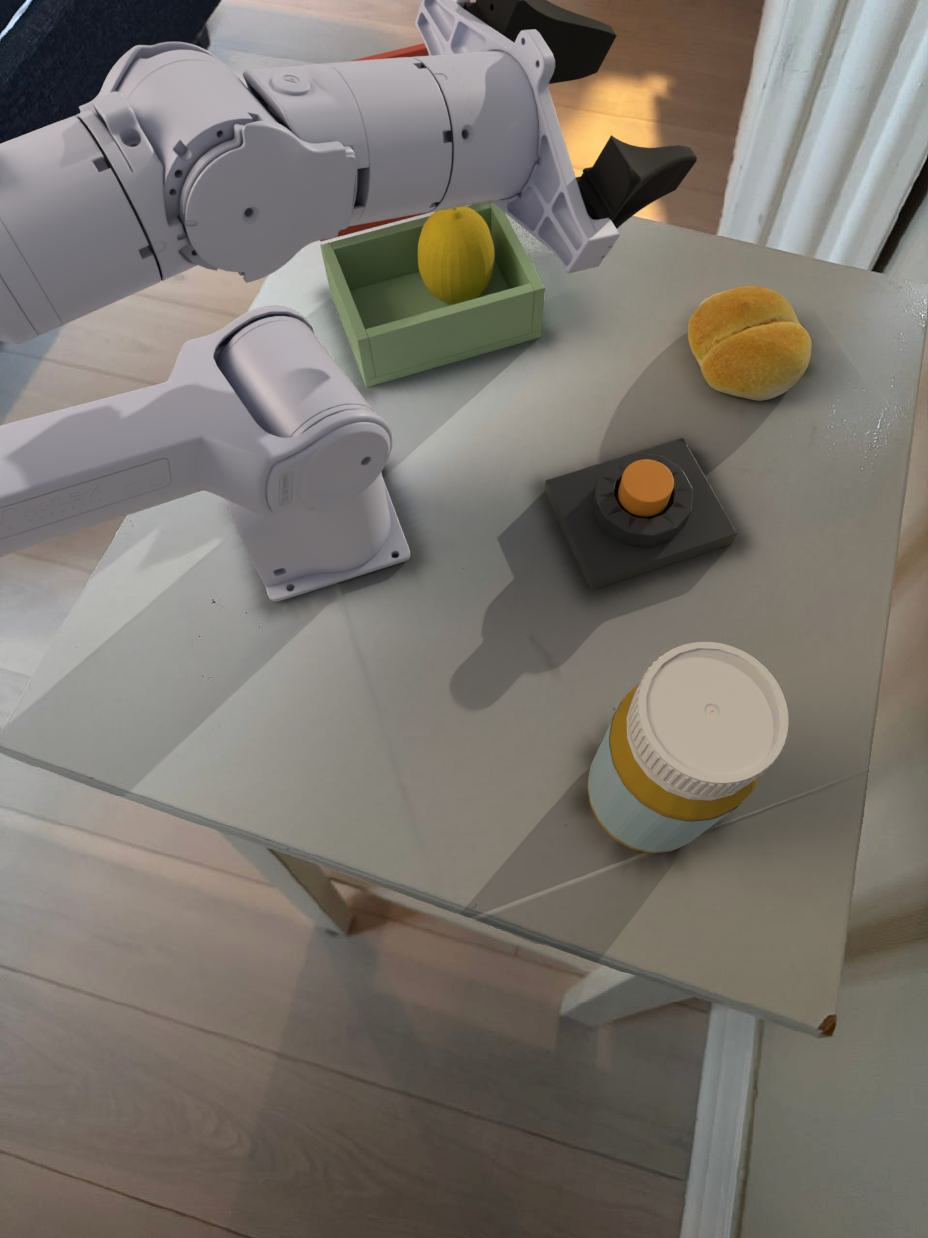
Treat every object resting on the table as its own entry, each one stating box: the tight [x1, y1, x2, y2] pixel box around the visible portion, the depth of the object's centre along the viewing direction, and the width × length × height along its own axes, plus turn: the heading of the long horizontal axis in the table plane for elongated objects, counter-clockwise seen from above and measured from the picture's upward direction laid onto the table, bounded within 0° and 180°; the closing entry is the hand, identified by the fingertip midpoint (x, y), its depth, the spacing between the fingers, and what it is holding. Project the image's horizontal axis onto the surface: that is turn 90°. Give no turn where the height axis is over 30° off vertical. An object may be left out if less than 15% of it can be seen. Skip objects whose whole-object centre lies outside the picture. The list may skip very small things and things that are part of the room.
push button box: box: [544, 437, 738, 591], centre depth 54 cm, size 10×8×3 cm
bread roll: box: [687, 285, 813, 402], centre depth 59 cm, size 8×9×4 cm
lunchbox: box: [319, 201, 546, 388], centre depth 61 cm, size 10×14×5 cm
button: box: [618, 459, 674, 517], centre depth 52 cm, size 3×3×2 cm
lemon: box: [418, 206, 495, 304], centre depth 60 cm, size 6×6×8 cm
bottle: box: [586, 641, 790, 854], centre depth 41 cm, size 7×7×15 cm
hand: (642, 108), depth 41 cm, fingers open, 7 cm apart
